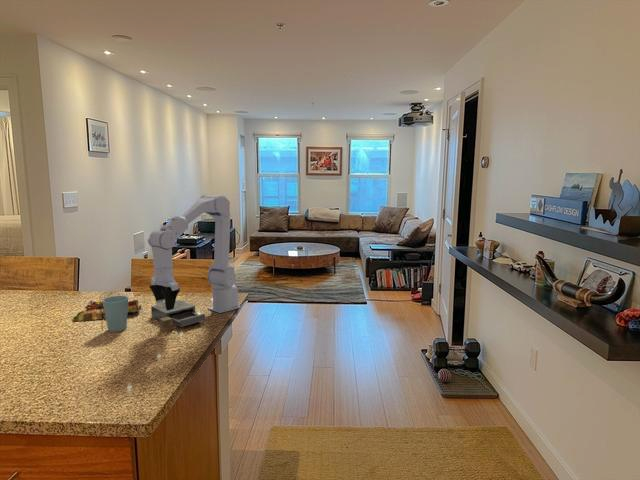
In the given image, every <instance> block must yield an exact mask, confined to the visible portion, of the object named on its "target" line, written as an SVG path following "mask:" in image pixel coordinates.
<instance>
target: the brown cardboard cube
mask: <svg viewBox="0 0 640 480" xmlns="http://www.w3.org/2000/svg"><path fill="white" fill-rule="evenodd" d="M158 322H159V331H160V332H162V333H168V332H172V331H173V330H174V323H173V319H172V318H170V317H165V318H161V319H159V321H158Z"/></svg>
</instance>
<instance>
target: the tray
mask: <svg viewBox="0 0 640 480" xmlns="http://www.w3.org/2000/svg"><path fill="white" fill-rule="evenodd" d="M169 317H170V318H172V319H173V325H177V326H179V328H180V327H181V328H183V327H187V326H191V325H194V324H196V323H200V322H204V321H206V314H205V313H201V314H199V313H197V312H195V313H194V312H192V311H186V312H182V313H178V314H175V315H171V316H169Z"/></svg>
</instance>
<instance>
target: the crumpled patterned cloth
mask: <svg viewBox="0 0 640 480" xmlns="http://www.w3.org/2000/svg"><path fill="white" fill-rule="evenodd" d="M138 305H139V306H138ZM141 307H142V305H141V304H139V300H138V299H133V300H128V311H127V314H128V313H130V314H136V313H137V312H141V311H142V308H141ZM84 308H85V309H86V311H85V310H81V311H80V312H78V313H77V315H75V316H74V317H73V320H72V321H73V322H85V321H95V320H103V321H104V322H107V321H106V316H105V311H104V307H103V302H102V301H93V300H90V301H89V302H88V303H87V305H86V306H84ZM140 310H141V311H140Z"/></svg>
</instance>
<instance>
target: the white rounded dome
mask: <svg viewBox="0 0 640 480" xmlns="http://www.w3.org/2000/svg"><path fill="white" fill-rule="evenodd" d="M155 305H156V307H157V308H160V309H165V308H166V305H165V300H164V299H161V300H158V301H156V300H155Z"/></svg>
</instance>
